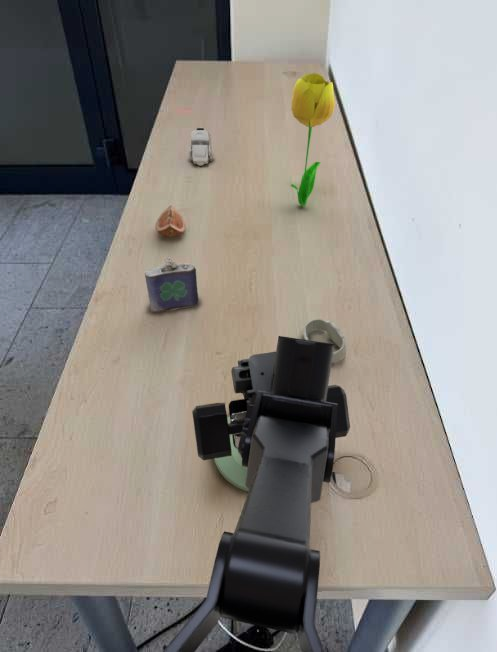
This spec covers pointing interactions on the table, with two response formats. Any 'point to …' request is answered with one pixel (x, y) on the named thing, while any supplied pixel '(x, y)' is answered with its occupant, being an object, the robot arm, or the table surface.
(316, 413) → the robot arm
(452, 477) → the table surface
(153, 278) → the flask
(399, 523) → the table surface
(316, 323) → the wristwatch
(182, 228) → the fruit slice
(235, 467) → the plate
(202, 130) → the white toy car
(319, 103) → the flower
